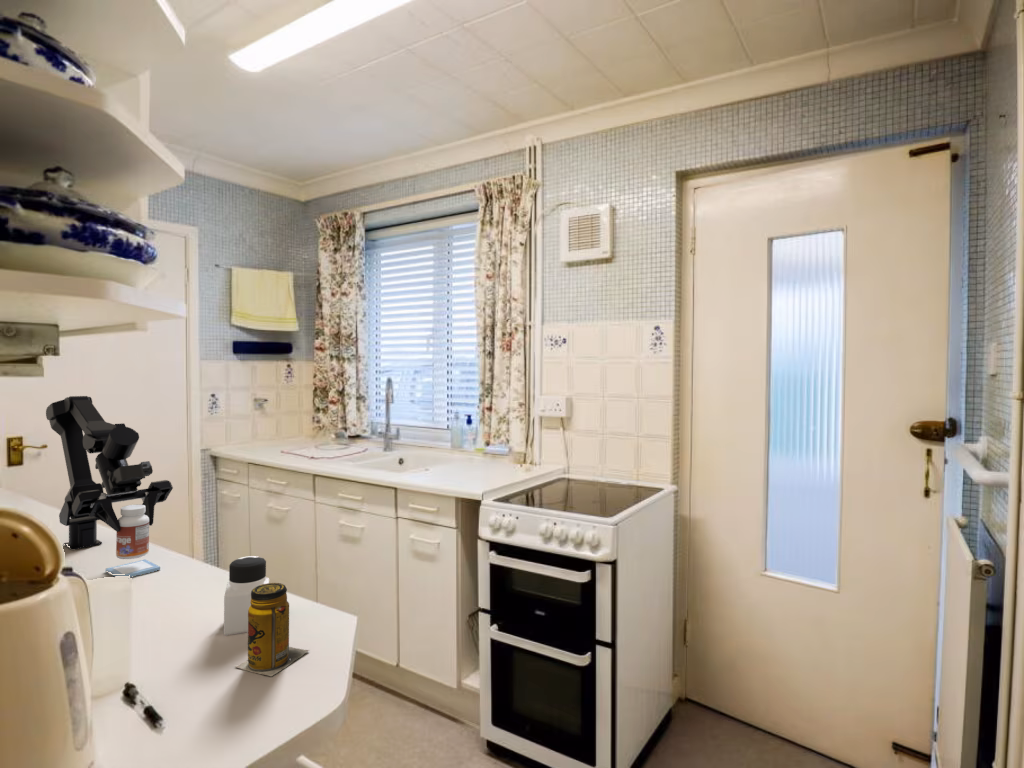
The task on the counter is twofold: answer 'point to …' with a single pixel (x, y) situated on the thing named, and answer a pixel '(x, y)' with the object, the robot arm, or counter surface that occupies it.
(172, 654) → the counter surface
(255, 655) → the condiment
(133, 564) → the coaster
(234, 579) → the medicine bottle
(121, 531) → the pill bottle
